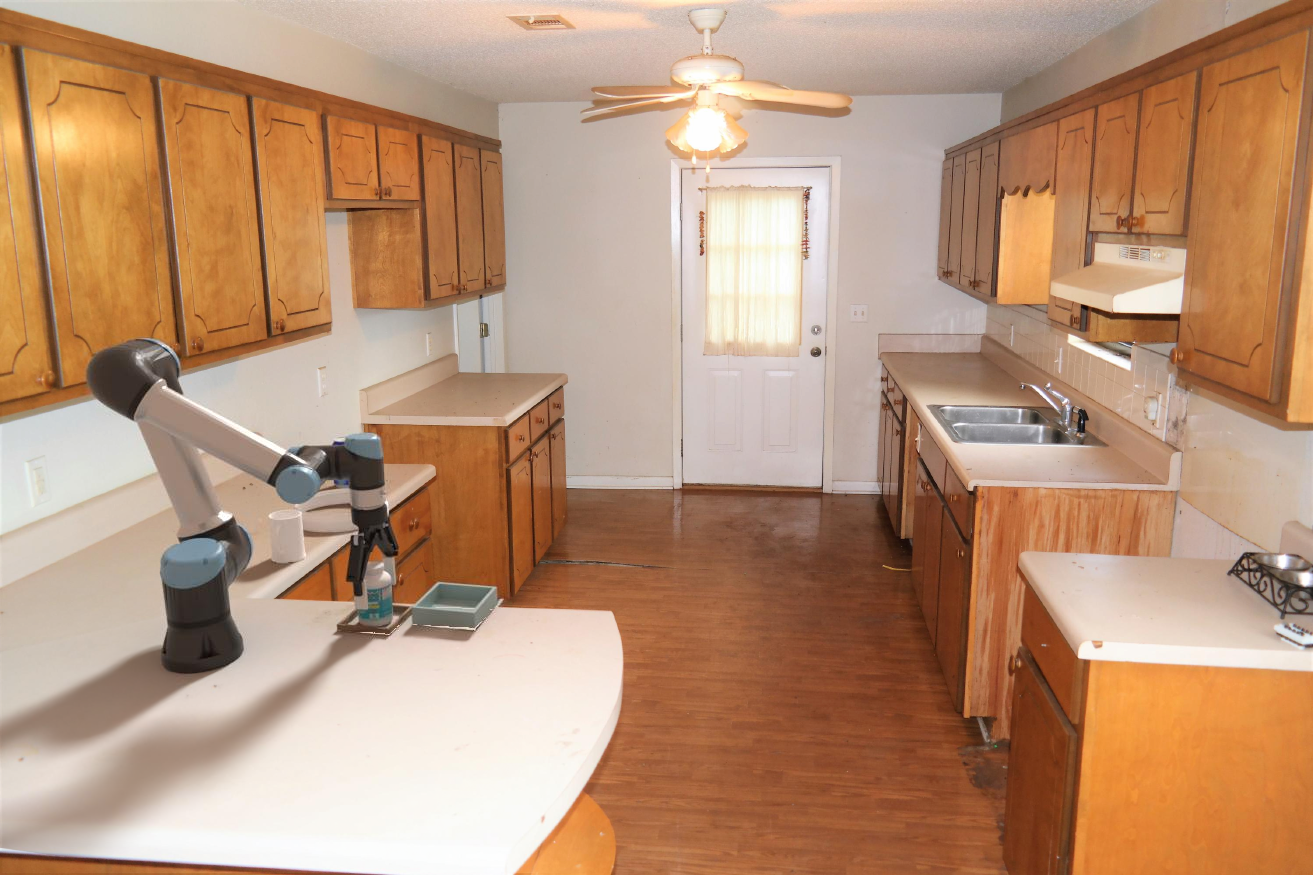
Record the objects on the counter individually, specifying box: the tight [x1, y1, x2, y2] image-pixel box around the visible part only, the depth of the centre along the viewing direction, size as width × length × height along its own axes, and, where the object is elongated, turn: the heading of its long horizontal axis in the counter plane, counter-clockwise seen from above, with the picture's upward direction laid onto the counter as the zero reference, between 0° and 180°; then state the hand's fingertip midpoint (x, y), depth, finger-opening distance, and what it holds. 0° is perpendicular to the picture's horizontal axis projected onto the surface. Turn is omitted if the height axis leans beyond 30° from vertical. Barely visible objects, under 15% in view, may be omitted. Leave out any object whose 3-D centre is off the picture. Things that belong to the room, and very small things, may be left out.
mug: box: [268, 509, 307, 564], centre depth 240 cm, size 12×8×12 cm
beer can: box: [331, 436, 349, 489], centre depth 305 cm, size 8×8×16 cm
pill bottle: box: [357, 560, 394, 627], centre depth 205 cm, size 8×7×14 cm
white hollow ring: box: [292, 488, 390, 533], centre depth 275 cm, size 27×27×6 cm
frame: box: [336, 604, 413, 634], centre depth 206 cm, size 12×12×2 cm
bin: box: [411, 581, 498, 628], centre depth 210 cm, size 15×15×4 cm
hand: (376, 595), depth 205 cm, fingers open, 13 cm apart
